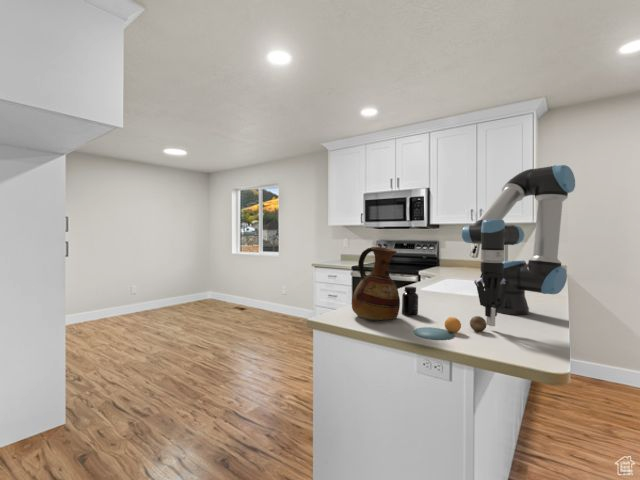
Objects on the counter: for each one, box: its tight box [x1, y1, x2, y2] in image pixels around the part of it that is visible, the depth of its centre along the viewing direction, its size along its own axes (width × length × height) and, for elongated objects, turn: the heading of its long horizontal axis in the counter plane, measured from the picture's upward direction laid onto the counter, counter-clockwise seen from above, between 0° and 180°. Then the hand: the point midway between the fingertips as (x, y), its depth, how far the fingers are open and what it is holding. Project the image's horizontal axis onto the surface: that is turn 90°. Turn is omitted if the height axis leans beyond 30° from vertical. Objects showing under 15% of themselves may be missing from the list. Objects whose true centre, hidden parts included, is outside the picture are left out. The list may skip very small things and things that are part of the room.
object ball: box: [444, 316, 462, 334], centre depth 121 cm, size 6×6×6 cm
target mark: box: [412, 326, 455, 341], centre depth 120 cm, size 14×14×1 cm
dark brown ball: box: [469, 315, 487, 333], centre depth 123 cm, size 6×6×6 cm
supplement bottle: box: [401, 285, 419, 317], centre depth 147 cm, size 7×7×12 cm
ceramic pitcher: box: [351, 245, 401, 321], centre depth 141 cm, size 20×20×30 cm
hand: (490, 325), depth 124 cm, fingers closed
